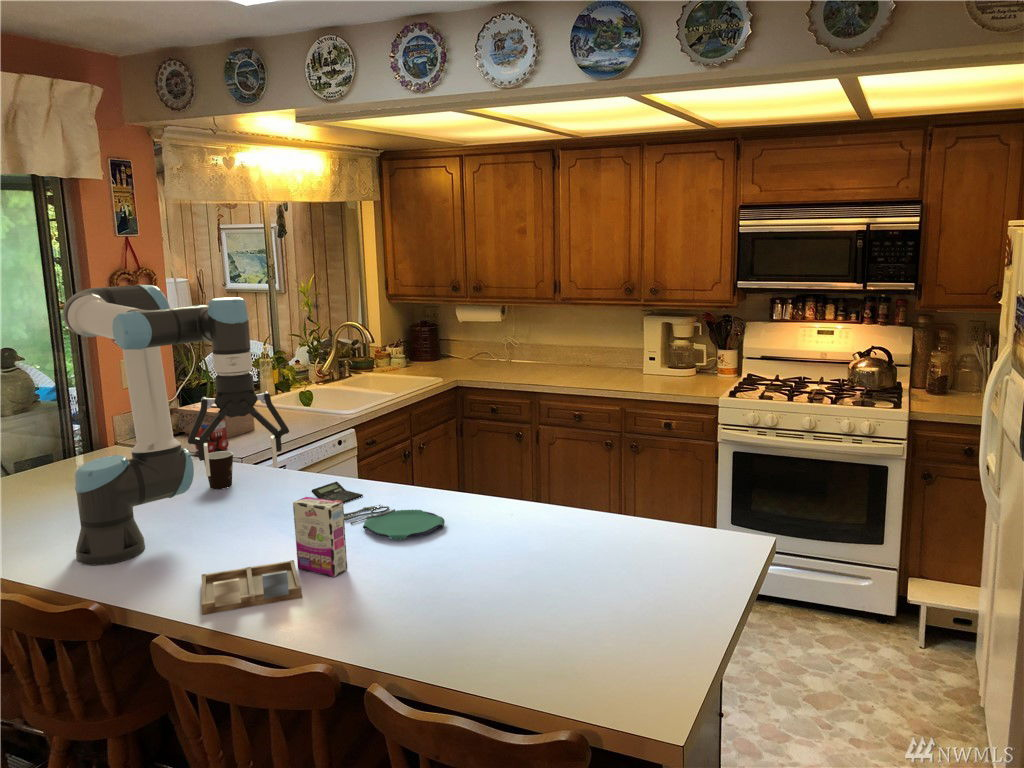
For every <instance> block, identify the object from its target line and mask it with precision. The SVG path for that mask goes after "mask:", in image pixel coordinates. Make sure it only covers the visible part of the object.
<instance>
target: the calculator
mask: <svg viewBox="0 0 1024 768" xmlns="http://www.w3.org/2000/svg"><path fill="white" fill-rule="evenodd" d="M311 493H312V494H313V495H314V496H315V498H318V499H325V500H331V501H337V502H343V503H344V504H346V503H349V502H351V501H350V500H352V501H354V500H353V499H355V500H357V499H360V498H362V497H361V496H364V495H363V494H362V493H359V492H354V491H350V490H346V489H345V488H344V486H342V485H341V484H340V483H339V482H338V481H334V482H331V483H328V484H325V485H322V486H319V487H317V488H313V489H311ZM359 497H360V498H359ZM356 498H357V499H356ZM348 501H349V502H348ZM345 502H346V503H345Z"/></svg>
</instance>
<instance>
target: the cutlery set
mask: <svg viewBox="0 0 1024 768" xmlns="http://www.w3.org/2000/svg"><path fill="white" fill-rule="evenodd" d="M381 505H382V504H381ZM375 506H376V505H372V506H371V505H370V506H368V507H366V506H364V507H362V508H361V509H358V510H355V511H352V512H347V513H344V522H346V521H350V525H351V524H352V525H353V524H356V523H358V522H361V521H365V520H366V521H365V522H364V524H363V526H362V529H363V530H366V531H367V532H368V533H370V534H371V535H375V536H378V537H384V538H390V539H391V540H395V541H397V540H405V539H406V538H412V537H419V536H422V535H425V534H428V533H430V532H433V531H436V529H438V528H439V527H440V526H441V525H442V527H444V526H445V522H446V521H445V518H443V516H439V515H437V514H435V513H433V512H428V511H425V510H421V509H399V510H398V509H397V510H396V509H391V510H388V509H389V508H390V506H388V505H387V506H384V505H382V507H379V508H377V507H375ZM374 508H375V509H374ZM380 508H388V509H383V510H381V509H380ZM371 509H373V510H371ZM376 509H378V510H379V511H377V510H376ZM366 510H367V511H368V510H370V511H369V512H366ZM374 510H375V511H374ZM373 511H374V512H373ZM358 512H359V513H358ZM361 512H364V513H361ZM379 512H381V513H379ZM356 513H357V514H356ZM371 513H372V514H371ZM351 514H353V515H351ZM348 515H350V516H348ZM345 516H346V517H345ZM362 516H366V517H363V518H360V519H358V520H354V521H351V520H352V519H355V518H358V517H362ZM365 528H366V529H365Z"/></svg>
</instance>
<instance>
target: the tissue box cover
mask: <svg viewBox="0 0 1024 768" xmlns="http://www.w3.org/2000/svg"><path fill="white" fill-rule="evenodd" d="M200 408H201V401H200V402H197V403H193V404H189V405H185V406H182V407H181V406H180V407H176V412H177V411H178V414H179V425H178V428H179V427H180V428H181V429H182V430H183V431H184V432H185V433H184V434H188V435H189V434H190V432H191V430H192V427H193V425H194V423H195V420H196V418H197V415H198V413H199V411H200ZM219 410H220V409H219V408H218V407H217V406H216V404H213V405H212V406H211V408H210V409H207V412H206V415H205V417H204V420H203V422H202V424H208V423H211V421H212V420H213V419H214V417H215V416H216V414H217V413H218V411H219ZM223 420H226V422H227V427H226V435H227V439H229V438H233V437H236V436H239V435H243V434H246V433H248V432H251V431H254V430H255V429H256V428H255V418H254V417H253V416H252V415H251V414H250V413H249V414H247V415H245V416H236V417H231V418H230V417H228V416H225V417H224V419H223ZM202 424H201V425H202ZM200 429H202V428H201V427H200Z"/></svg>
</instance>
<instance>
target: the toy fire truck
mask: <svg viewBox="0 0 1024 768" xmlns="http://www.w3.org/2000/svg"><path fill="white" fill-rule="evenodd" d="M209 424H210V423H208V424H202V425H201V428H202V429H199V431H198V434H197V436H196V438H199V437H200V436H201V434H202V433H203V432H204V430H205V429H206V428H207V426H208V425H209ZM226 427H227V422H226V420H222V421H221V422H220V423H219V425H218V426H217V427H216V428H215V430H214V431H213V432H212V434H211V435H210V436H209V438H208V439H207V440H206V442H205V443H207V445H208V453H212V452H216V451H215V450H216V448H218V449H219V450H220V451H225V450H227V448H228V447H229V441H228V438H227V435H226ZM194 446H195V449H196V450H197V451H198V447H197V445H195V444H194Z"/></svg>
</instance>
